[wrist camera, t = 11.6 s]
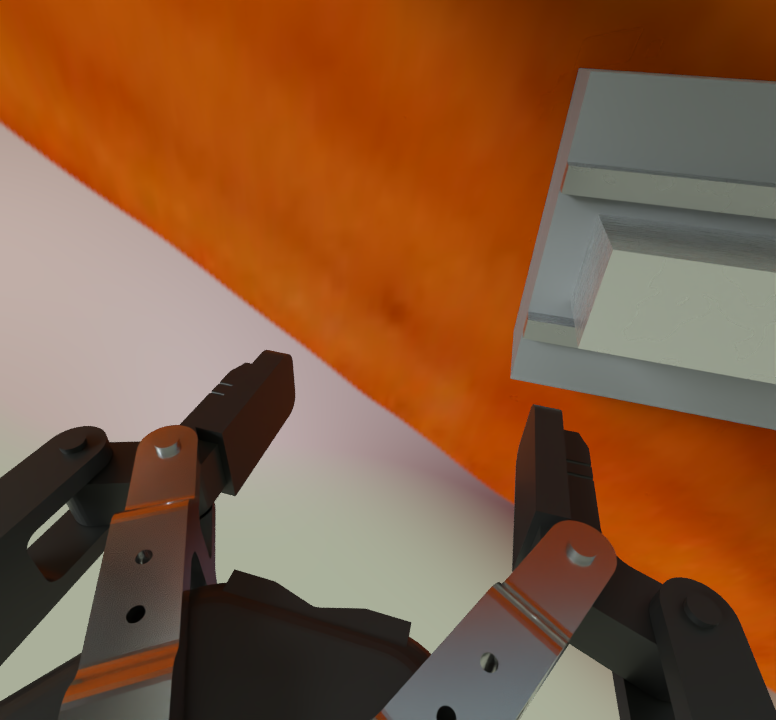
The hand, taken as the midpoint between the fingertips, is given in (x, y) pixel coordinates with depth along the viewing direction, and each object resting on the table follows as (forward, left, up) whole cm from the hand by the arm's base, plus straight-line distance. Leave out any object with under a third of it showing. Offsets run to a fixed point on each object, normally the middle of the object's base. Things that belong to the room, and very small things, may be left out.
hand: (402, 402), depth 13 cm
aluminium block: (+10, 0, -14) cm, 17 cm away
